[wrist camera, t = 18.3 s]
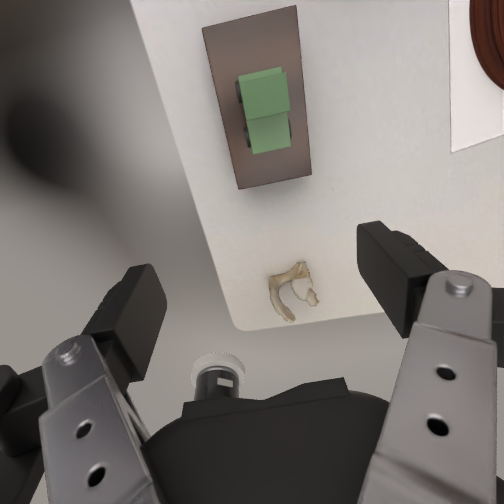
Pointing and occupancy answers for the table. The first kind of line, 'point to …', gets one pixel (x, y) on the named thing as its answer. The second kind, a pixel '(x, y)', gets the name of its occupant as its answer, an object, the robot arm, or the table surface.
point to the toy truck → (265, 109)
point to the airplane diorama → (476, 71)
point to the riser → (250, 61)
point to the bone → (299, 286)
